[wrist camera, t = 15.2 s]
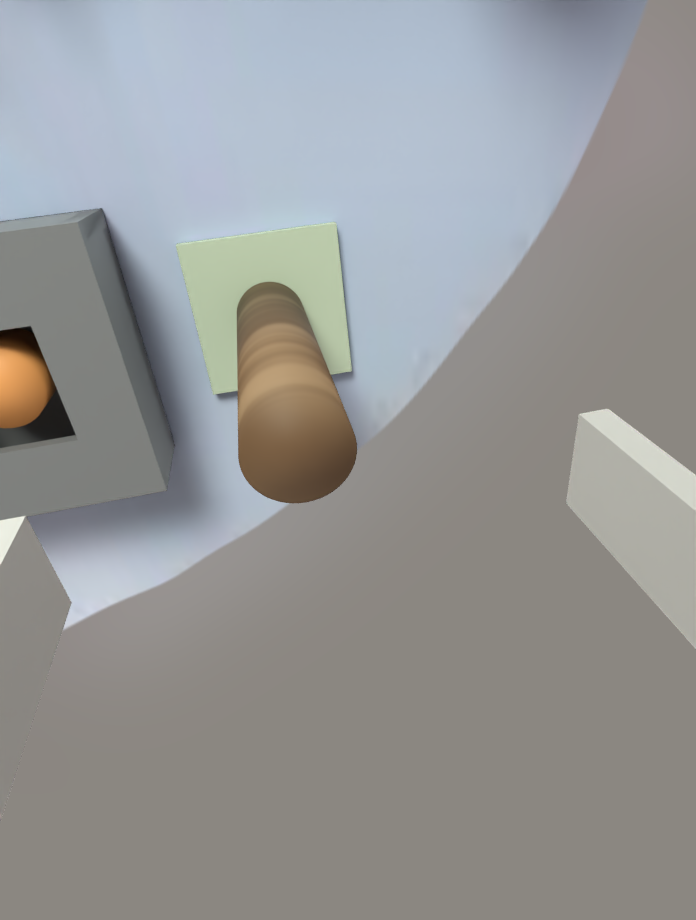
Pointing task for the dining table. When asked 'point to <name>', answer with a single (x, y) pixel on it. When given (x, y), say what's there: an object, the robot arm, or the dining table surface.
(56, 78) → the dining table surface
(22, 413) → the button
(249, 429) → the walnut dowel
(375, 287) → the dining table surface
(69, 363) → the grey square holder
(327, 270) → the mat
